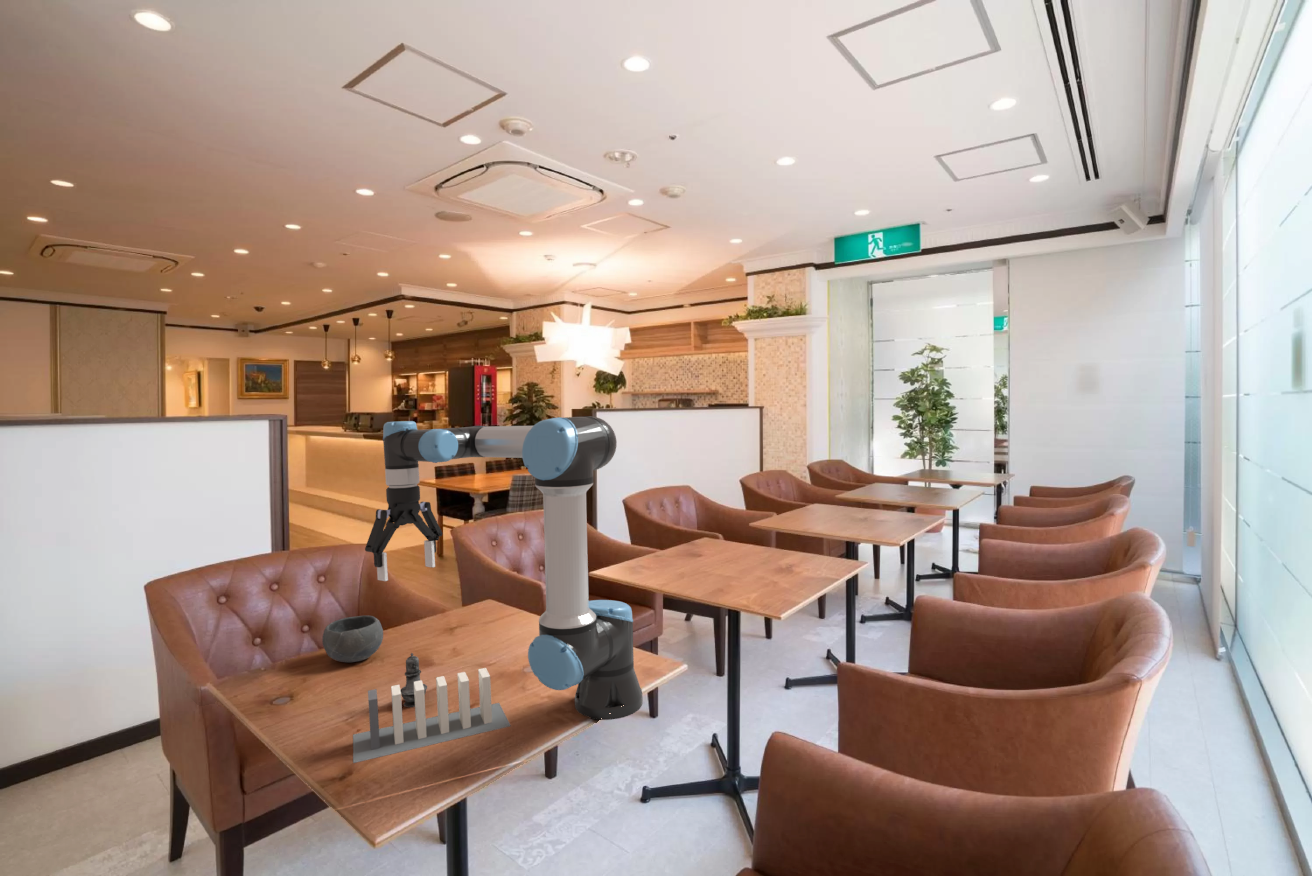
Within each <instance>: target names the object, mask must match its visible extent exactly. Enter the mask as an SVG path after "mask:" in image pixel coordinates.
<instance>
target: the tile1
mask: <svg viewBox="0 0 1312 876" xmlns="http://www.w3.org/2000/svg"><path fill="white" fill-rule="evenodd" d="M477 671H478V695H479V696H478V697H479V707H480V715H481V717H482V719H483V722H484V724H487V723H491V722H492V707H491V704H492V690H491V689H492V687H491V685H492V684H491V675H490V673H489V671H488V670H487V667H484V668H478V669H477Z"/></svg>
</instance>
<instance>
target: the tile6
mask: <svg viewBox="0 0 1312 876" xmlns="http://www.w3.org/2000/svg"><path fill="white" fill-rule="evenodd" d="M367 699H368V717H369V731H370V739H371V750H374V749H378V748H380V739H379V729H380V724H379V705H378V704H379V703H378V692H377V688H374V689H369V690H367Z"/></svg>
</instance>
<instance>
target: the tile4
mask: <svg viewBox="0 0 1312 876" xmlns="http://www.w3.org/2000/svg"><path fill="white" fill-rule="evenodd" d="M423 684H424V683H423V680H422V679H420V681H415V682H414V697H415V707H414V713H415V714H414V715H415V716H414V717H415V721H416V730H417V735H418V739H421V738H426V737H427V736H426V719H427V717H426V716H427V715H426V699H425V698H426V697H425V695H426V693H425V694H424V686H423Z"/></svg>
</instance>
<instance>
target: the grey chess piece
mask: <svg viewBox="0 0 1312 876" xmlns="http://www.w3.org/2000/svg"><path fill="white" fill-rule="evenodd" d="M409 655H410V656H409V657H407V658H406V659H405V672H404V676H405V678H406V679H405V680H406V681H405V682H406V683H405V686H403V687H402V688H400V690H401V698H402V700H403V701H405V702H403V706H404V707H406V708H415V697H414V682H415V681H420V680H421V673H422V670H421V669H420V661H419V660H420V659H419V657H418V656H416V655H414V653H413V652H411V653H410V654H409ZM423 686H424V694H425V695H426V692H427V689H428V685H427V684H425V683H423Z"/></svg>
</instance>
